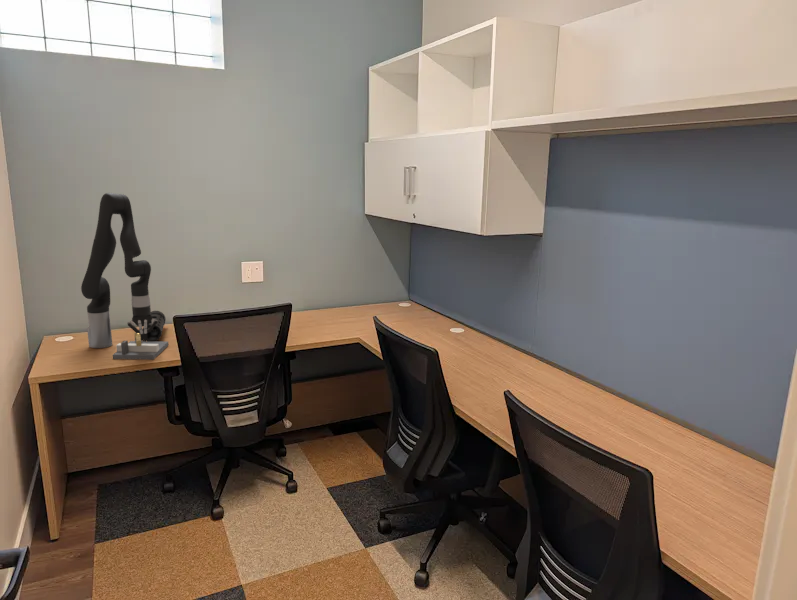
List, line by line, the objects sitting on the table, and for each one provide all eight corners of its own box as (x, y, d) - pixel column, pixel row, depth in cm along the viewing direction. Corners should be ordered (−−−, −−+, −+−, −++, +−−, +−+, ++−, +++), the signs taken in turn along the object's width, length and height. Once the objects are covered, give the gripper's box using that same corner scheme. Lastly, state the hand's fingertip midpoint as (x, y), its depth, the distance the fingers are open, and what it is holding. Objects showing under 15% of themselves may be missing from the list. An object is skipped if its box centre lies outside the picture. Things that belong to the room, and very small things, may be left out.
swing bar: (134, 338, 266) (134, 332, 266) (142, 337, 268) (141, 331, 267) (135, 346, 255) (134, 340, 255) (142, 345, 257) (142, 339, 256)
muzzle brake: (141, 344, 275) (140, 324, 272) (147, 328, 301) (145, 310, 298) (162, 343, 278) (161, 323, 275) (166, 327, 304) (165, 309, 301)
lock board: (112, 359, 254) (111, 343, 253) (130, 344, 274) (129, 330, 272) (153, 359, 256) (152, 343, 254) (168, 345, 275) (167, 330, 273)
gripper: (156, 301, 260) (159, 337, 264) (125, 303, 255) (128, 340, 259) (157, 305, 254) (160, 341, 258) (124, 307, 248) (128, 345, 252)
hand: (144, 340), depth 258 cm, fingers closed
